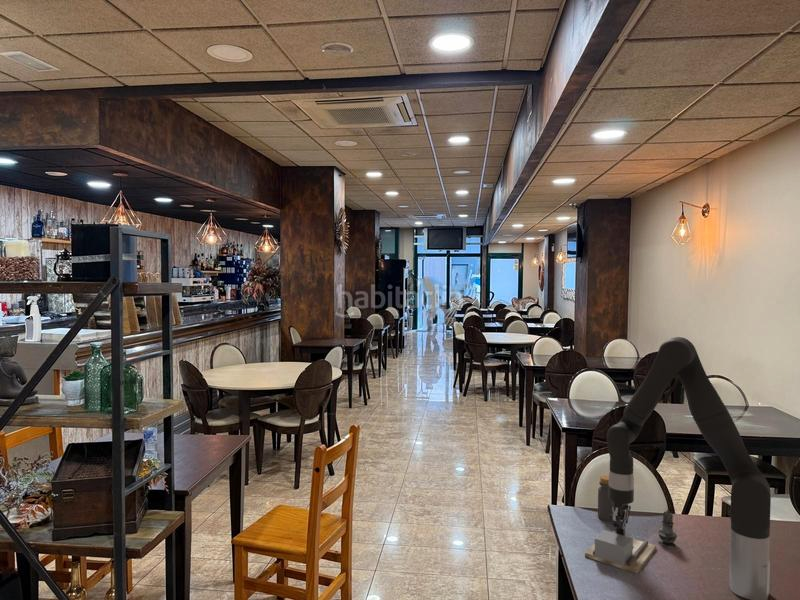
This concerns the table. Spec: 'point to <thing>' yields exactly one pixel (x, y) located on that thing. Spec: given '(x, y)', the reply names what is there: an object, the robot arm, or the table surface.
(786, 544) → the table surface
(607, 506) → the bottle
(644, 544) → the board
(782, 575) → the table surface
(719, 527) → the table surface
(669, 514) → the salt shaker
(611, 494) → the robot arm
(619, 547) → the cover
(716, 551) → the table surface
